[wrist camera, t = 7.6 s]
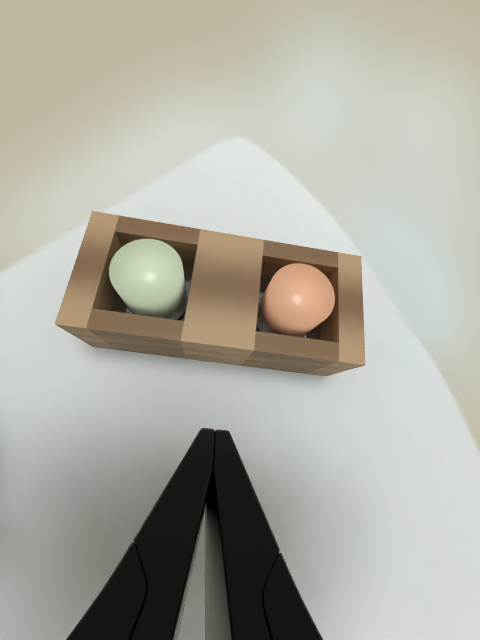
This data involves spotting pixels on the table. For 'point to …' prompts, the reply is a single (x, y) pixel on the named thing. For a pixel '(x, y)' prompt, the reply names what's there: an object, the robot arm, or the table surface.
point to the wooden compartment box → (214, 300)
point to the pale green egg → (149, 279)
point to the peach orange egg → (295, 301)
